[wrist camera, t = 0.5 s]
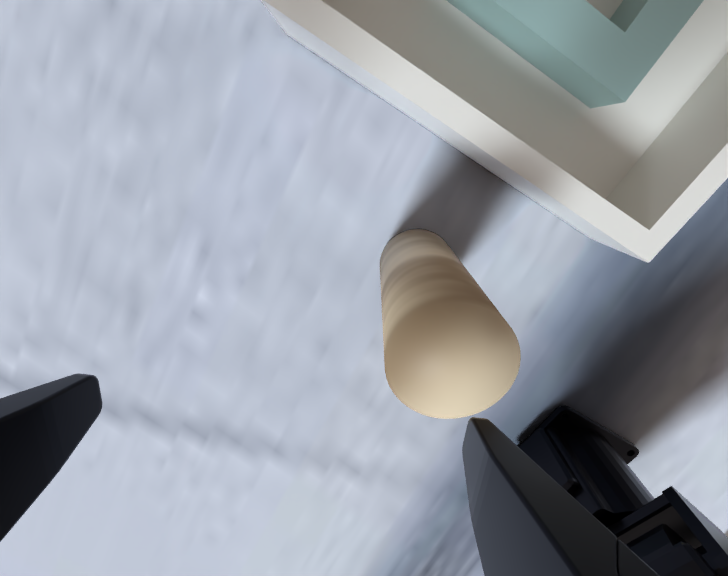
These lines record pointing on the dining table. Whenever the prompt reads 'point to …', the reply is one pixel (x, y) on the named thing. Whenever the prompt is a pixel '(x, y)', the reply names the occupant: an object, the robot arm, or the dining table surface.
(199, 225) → the dining table surface
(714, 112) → the box
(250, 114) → the dining table surface
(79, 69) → the dining table surface
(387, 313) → the dowel
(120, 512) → the dining table surface
